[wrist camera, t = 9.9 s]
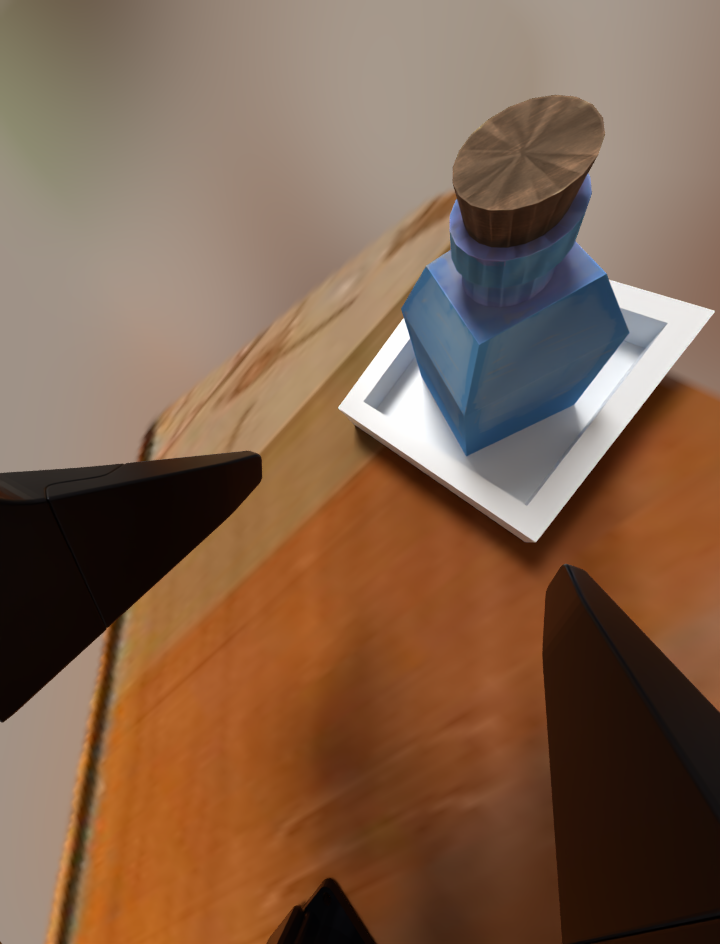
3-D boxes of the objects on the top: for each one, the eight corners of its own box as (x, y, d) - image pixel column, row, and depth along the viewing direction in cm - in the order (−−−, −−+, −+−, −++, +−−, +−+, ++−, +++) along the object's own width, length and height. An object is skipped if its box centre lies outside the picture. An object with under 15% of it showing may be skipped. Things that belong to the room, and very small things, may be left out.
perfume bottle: (466, 456, 18) (460, 319, 7) (421, 375, 20) (359, 167, 9) (574, 404, 16) (788, 127, 5) (513, 323, 18) (579, 1, 7)
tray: (673, 349, 16) (715, 310, 14) (524, 542, 17) (536, 542, 14) (464, 275, 21) (463, 236, 19) (354, 424, 22) (337, 408, 19)
